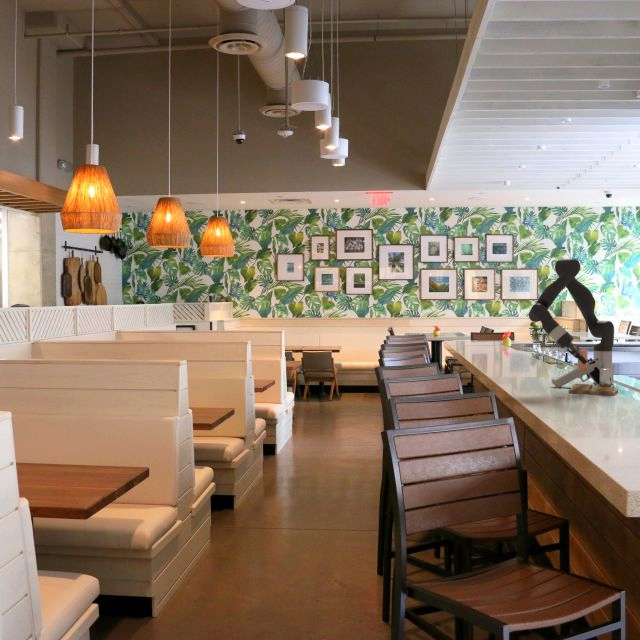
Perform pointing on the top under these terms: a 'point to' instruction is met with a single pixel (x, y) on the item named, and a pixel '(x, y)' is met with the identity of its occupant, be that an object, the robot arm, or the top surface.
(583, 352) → the pin
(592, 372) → the handgun
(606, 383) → the pin
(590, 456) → the top surface
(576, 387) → the wooden compartment tray
